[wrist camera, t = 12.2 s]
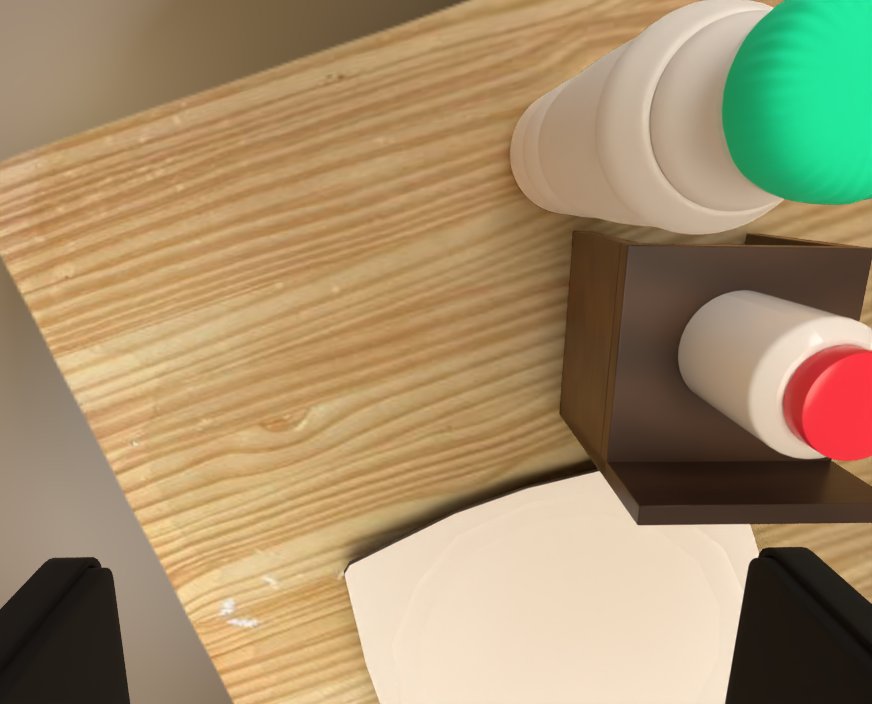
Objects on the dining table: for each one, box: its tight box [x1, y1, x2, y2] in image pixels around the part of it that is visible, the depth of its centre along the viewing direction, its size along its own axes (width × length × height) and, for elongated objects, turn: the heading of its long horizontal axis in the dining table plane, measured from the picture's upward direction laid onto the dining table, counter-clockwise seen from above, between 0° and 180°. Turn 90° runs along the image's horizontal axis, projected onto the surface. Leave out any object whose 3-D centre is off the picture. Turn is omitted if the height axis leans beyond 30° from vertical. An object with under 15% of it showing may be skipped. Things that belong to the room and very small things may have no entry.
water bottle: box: [510, 0, 872, 235], centre depth 24 cm, size 7×7×25 cm
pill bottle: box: [678, 290, 872, 461], centre depth 26 cm, size 6×6×8 cm
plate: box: [344, 469, 759, 704], centre depth 44 cm, size 28×29×3 cm
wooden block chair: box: [560, 231, 872, 525], centre depth 33 cm, size 12×12×14 cm
